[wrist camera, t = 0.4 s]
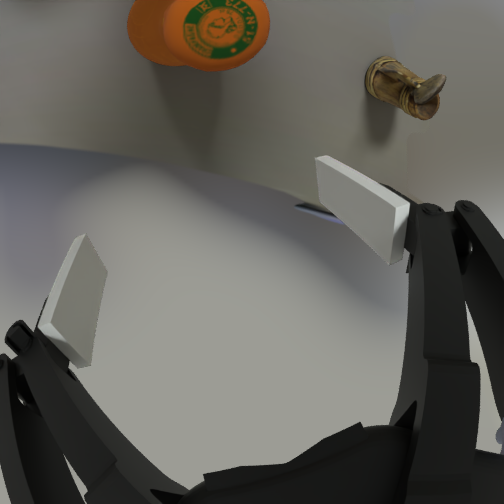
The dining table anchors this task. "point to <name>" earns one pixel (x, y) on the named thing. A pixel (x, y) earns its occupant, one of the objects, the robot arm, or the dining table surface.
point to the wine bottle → (199, 31)
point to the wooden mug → (404, 88)
